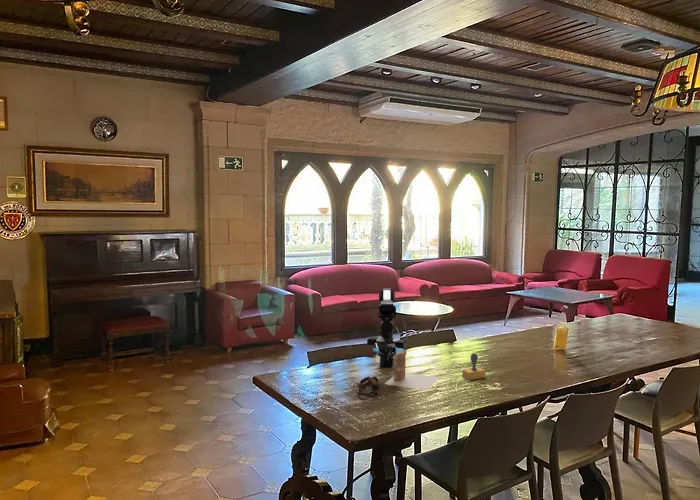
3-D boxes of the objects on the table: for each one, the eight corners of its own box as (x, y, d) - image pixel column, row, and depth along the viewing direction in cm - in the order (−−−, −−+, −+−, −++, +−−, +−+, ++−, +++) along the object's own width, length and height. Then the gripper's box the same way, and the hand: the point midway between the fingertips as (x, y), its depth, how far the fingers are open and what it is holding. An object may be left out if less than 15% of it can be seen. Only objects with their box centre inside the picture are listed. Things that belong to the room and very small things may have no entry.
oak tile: (393, 380, 251) (393, 355, 250) (399, 375, 258) (399, 350, 257) (400, 381, 250) (400, 355, 249) (405, 376, 257) (405, 351, 256)
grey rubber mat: (384, 384, 247) (384, 383, 247) (398, 372, 265) (398, 371, 265) (427, 391, 238) (427, 390, 238) (439, 378, 256) (439, 377, 256)
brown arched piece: (378, 399, 230) (368, 383, 229) (361, 404, 235) (352, 389, 234) (387, 384, 241) (378, 369, 240) (370, 389, 245) (361, 374, 244)
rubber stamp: (468, 380, 254) (469, 355, 253) (461, 376, 259) (462, 352, 258) (485, 377, 258) (486, 353, 257) (478, 374, 263) (479, 350, 262)
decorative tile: (384, 358, 293) (384, 354, 292) (372, 352, 305) (372, 348, 305) (406, 355, 299) (406, 351, 299) (394, 349, 311) (394, 345, 311)
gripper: (362, 330, 251) (362, 361, 253) (399, 333, 244) (399, 366, 245) (371, 325, 262) (371, 356, 263) (407, 328, 254) (406, 360, 255)
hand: (386, 359), depth 256 cm, fingers closed
